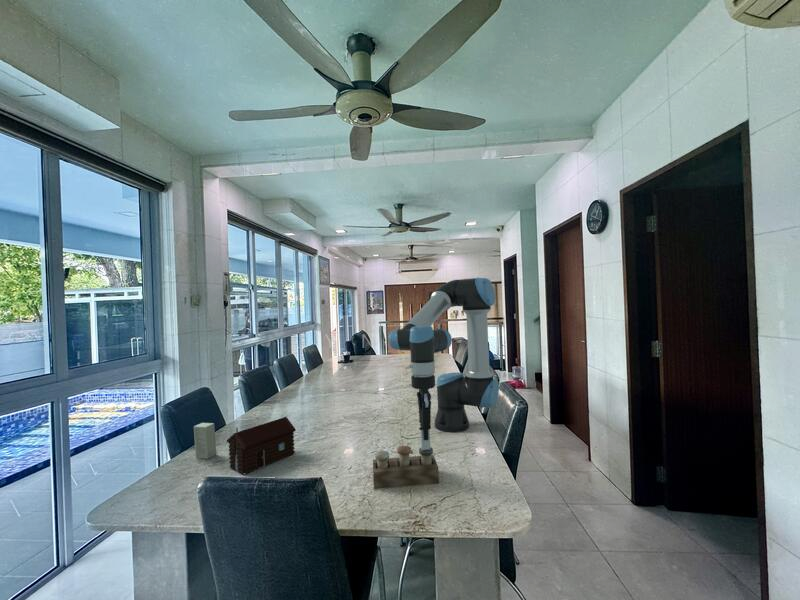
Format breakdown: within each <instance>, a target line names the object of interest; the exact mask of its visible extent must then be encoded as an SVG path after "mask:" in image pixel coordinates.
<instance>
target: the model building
mask: <svg viewBox="0 0 800 600" xmlns="http://www.w3.org/2000/svg"><path fill="white" fill-rule="evenodd" d="M296 429H297V428H295V426H294V425H293V424H292V422H291V421H290V419H288V417H287V416H284V417H281V418H278V419H275V420H271V421H268V422H265V423H262V424H258V425H256V426H252V427H250V428H249V427H248V428H246V429H243V430H240V431H239V427H236V428H235V432H234V433H233V434H231V436H229V438H227V439H226V443H228V448H229V449H228V452H229V453H228V456H229V457H228V458H229V459H228V460H229V468H230V469H233V470H235V472H236V471H238V472H237V473H240V474H242V473H247V472H249V473H251V472H250V471H252V472H254V471H256V470H255V469H257V470H258V469H260V468H259V467H261V468H262V466H263V467H267V466H269V465H271V464H274V463H276V462H279V461H280V460H281V461H282V460H283V459H285V458H288V457H290V456H292V455H294V454H295V443H294V442H295V439H294V438H295V437H294V434H295V432H296ZM268 464H269V465H268ZM266 465H267V466H266ZM253 470H254V471H253ZM247 474H248V473H247Z"/></svg>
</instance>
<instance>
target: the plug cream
mask: <svg viewBox="0 0 800 600" xmlns="http://www.w3.org/2000/svg"><path fill="white" fill-rule="evenodd" d="M374 457H375V459H377V465H378V468H388V461H387V459H388V458H390V453H389V451H387V450H378V451H376V452H375V453H374Z"/></svg>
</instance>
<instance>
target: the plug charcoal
mask: <svg viewBox="0 0 800 600" xmlns="http://www.w3.org/2000/svg"><path fill="white" fill-rule="evenodd" d="M418 452H419V454H420V456H421V462H422V465H430V464H432V461H431V455H434V454H433V453H434V448H433V447H431V446H430V449H429V450H422V449H421V447H419V448H418Z"/></svg>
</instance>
